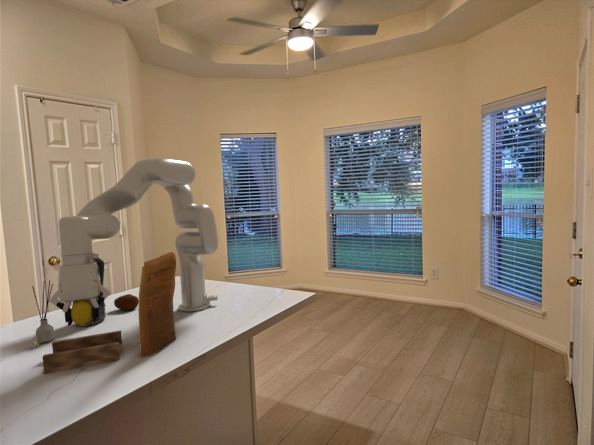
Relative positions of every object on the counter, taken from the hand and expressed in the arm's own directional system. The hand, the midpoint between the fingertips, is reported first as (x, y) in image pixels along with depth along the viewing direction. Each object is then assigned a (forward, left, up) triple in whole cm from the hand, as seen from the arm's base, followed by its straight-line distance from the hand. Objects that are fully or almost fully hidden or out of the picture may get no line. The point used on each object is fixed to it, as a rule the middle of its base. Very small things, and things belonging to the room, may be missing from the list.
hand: (83, 321), depth 103 cm
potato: (-8, -46, -11) cm, 48 cm away
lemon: (0, 0, -1) cm, 1 cm away
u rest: (0, 0, -11) cm, 11 cm away
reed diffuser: (+14, -20, -11) cm, 27 cm away
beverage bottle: (+3, -35, -11) cm, 37 cm away
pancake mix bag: (-20, +1, -11) cm, 23 cm away
